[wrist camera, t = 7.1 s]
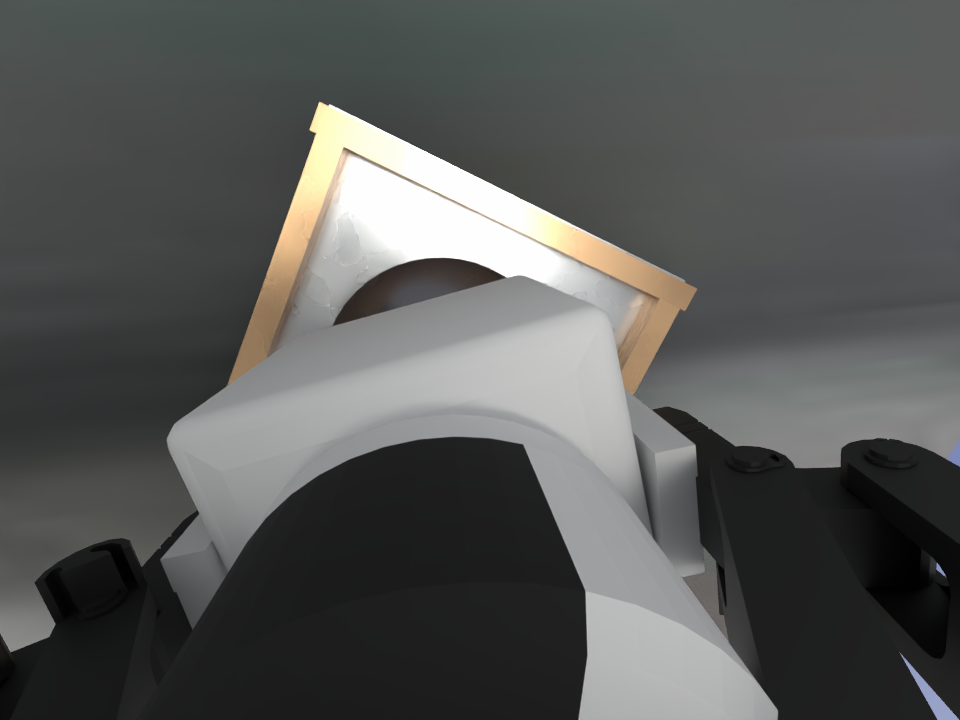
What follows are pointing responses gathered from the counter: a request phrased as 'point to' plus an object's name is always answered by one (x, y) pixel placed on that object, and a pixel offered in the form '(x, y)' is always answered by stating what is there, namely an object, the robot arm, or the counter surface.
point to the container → (440, 531)
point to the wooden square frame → (434, 248)
